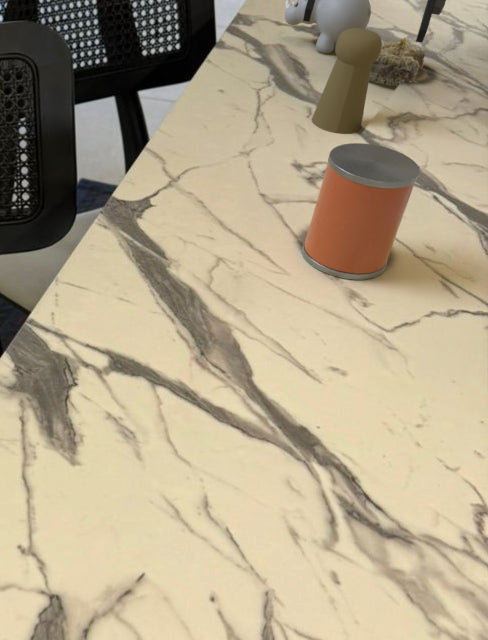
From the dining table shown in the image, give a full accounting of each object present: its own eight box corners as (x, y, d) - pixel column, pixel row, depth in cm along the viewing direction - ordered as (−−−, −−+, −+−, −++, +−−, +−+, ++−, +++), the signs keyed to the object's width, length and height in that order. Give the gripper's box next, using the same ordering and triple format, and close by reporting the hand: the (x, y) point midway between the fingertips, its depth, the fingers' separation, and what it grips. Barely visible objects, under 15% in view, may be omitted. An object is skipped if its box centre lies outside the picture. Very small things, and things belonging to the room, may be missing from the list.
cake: (351, 86, 138) (360, 45, 134) (357, 63, 145) (365, 23, 141) (429, 94, 135) (440, 52, 132) (431, 71, 142) (441, 30, 139)
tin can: (394, 253, 102) (428, 158, 96) (373, 289, 97) (408, 191, 90) (315, 229, 105) (343, 135, 98) (290, 262, 99) (318, 165, 93)
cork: (320, 109, 129) (345, 18, 122) (366, 122, 127) (395, 30, 120) (304, 124, 125) (329, 31, 118) (352, 137, 123) (381, 44, 116)
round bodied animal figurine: (285, 30, 151) (300, -32, 146) (364, 49, 148) (383, -14, 142) (270, 43, 147) (285, -20, 141) (352, 63, 143) (371, -1, 137)
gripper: (509, -103, 125) (462, 60, 124) (305, -134, 130) (259, 23, 129) (528, -145, 118) (478, 28, 117) (311, -177, 123) (262, -10, 122)
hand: (363, 26), depth 123 cm, fingers open, 13 cm apart
